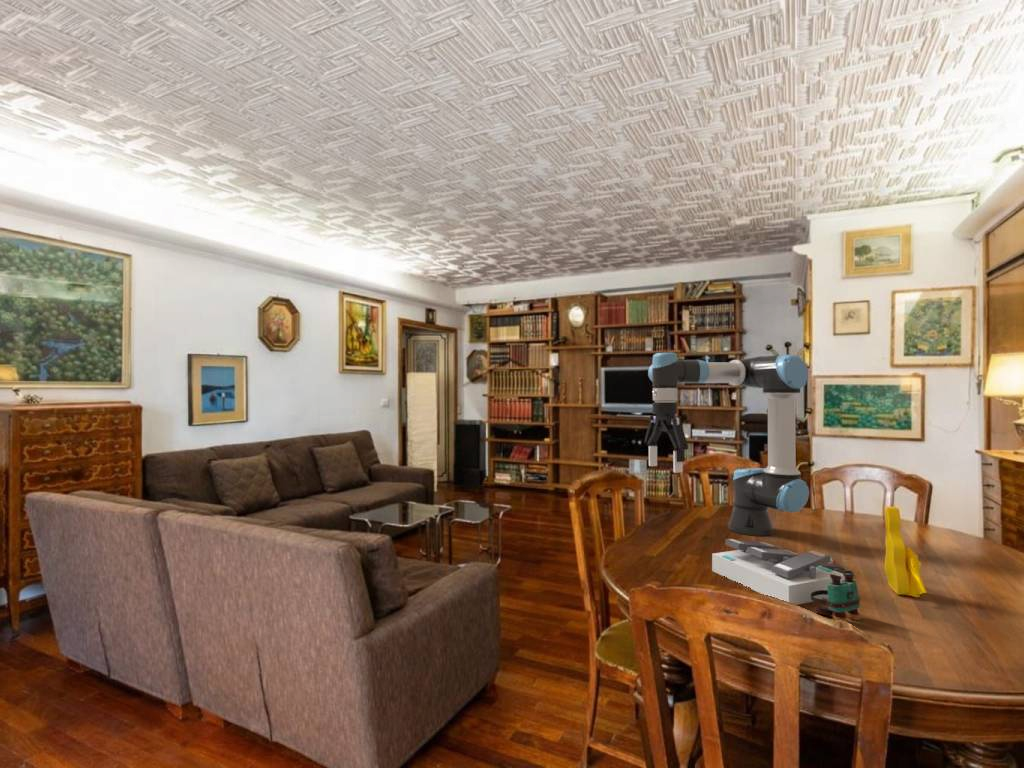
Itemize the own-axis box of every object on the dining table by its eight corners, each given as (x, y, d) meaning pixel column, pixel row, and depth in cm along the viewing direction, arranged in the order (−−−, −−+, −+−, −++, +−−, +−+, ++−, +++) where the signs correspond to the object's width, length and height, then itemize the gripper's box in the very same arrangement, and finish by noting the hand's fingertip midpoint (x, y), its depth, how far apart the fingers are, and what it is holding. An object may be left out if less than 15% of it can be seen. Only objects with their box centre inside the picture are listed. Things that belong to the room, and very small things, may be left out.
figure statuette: (936, 608, 123) (935, 516, 124) (897, 603, 126) (896, 514, 126) (907, 582, 140) (906, 501, 140) (873, 578, 143) (872, 499, 143)
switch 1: (764, 547, 153) (765, 541, 153) (778, 552, 148) (779, 546, 148) (725, 544, 147) (725, 538, 148) (738, 549, 143) (739, 543, 143)
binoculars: (823, 563, 127) (864, 572, 118) (828, 607, 126) (870, 619, 117) (798, 568, 123) (839, 577, 114) (802, 613, 122) (844, 627, 113)
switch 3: (813, 555, 138) (812, 549, 138) (830, 561, 133) (829, 554, 133) (771, 572, 133) (770, 565, 132) (788, 578, 128) (787, 571, 128)
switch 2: (787, 556, 145) (788, 549, 145) (802, 561, 140) (803, 555, 141) (746, 552, 140) (747, 546, 140) (761, 558, 135) (762, 551, 135)
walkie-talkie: (797, 560, 159) (819, 584, 140) (797, 546, 159) (819, 568, 140) (829, 563, 157) (856, 587, 137) (829, 548, 157) (855, 571, 138)
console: (764, 562, 156) (764, 536, 156) (846, 594, 132) (846, 564, 132) (712, 570, 149) (712, 544, 149) (788, 606, 125) (788, 574, 125)
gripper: (633, 400, 173) (633, 464, 172) (678, 402, 149) (678, 476, 148) (653, 400, 175) (653, 463, 175) (700, 402, 151) (700, 474, 151)
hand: (665, 469), depth 161 cm, fingers open, 13 cm apart
